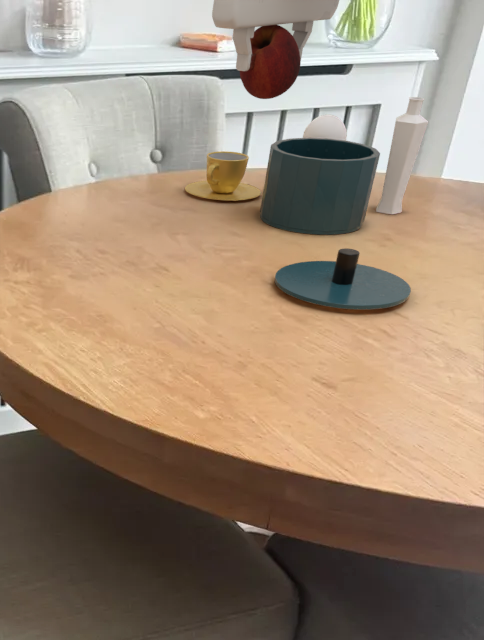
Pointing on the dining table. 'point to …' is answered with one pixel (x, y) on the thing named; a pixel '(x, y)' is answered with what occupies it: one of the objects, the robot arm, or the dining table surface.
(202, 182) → the cup
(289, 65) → the apple
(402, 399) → the dining table surface
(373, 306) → the tin lid
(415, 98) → the perfume bottle
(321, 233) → the tin
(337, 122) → the light bulb
